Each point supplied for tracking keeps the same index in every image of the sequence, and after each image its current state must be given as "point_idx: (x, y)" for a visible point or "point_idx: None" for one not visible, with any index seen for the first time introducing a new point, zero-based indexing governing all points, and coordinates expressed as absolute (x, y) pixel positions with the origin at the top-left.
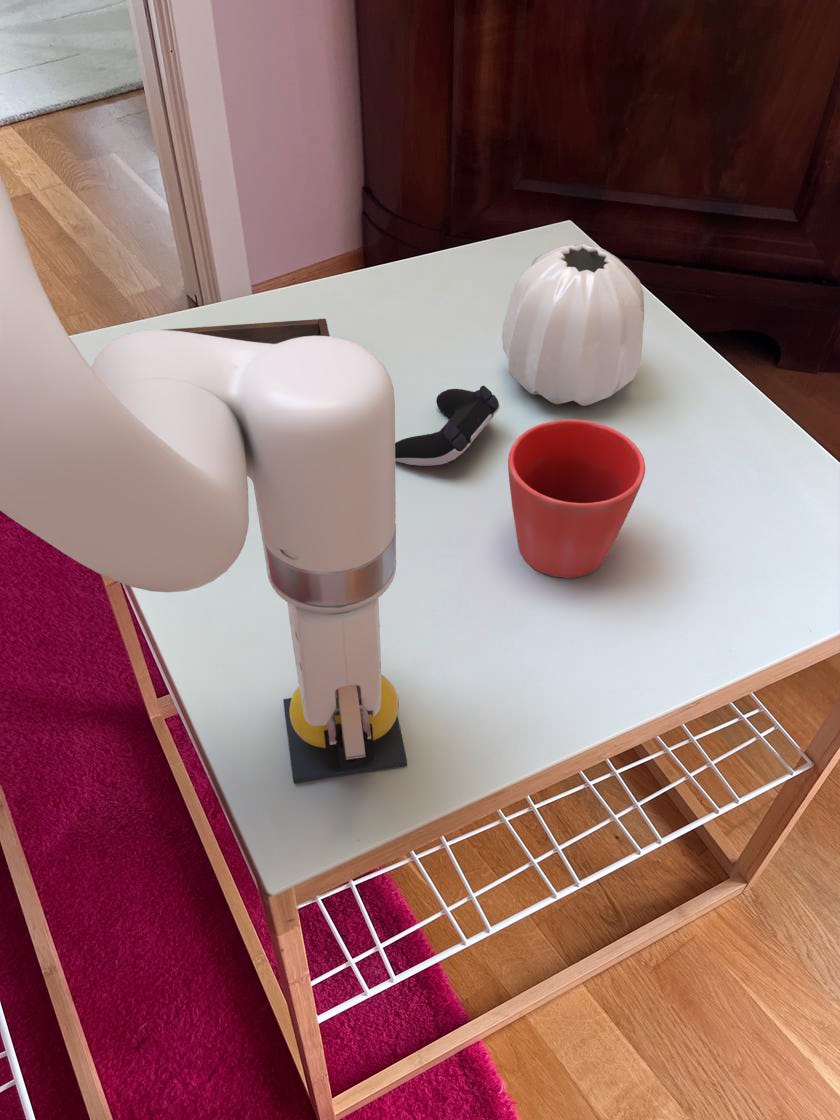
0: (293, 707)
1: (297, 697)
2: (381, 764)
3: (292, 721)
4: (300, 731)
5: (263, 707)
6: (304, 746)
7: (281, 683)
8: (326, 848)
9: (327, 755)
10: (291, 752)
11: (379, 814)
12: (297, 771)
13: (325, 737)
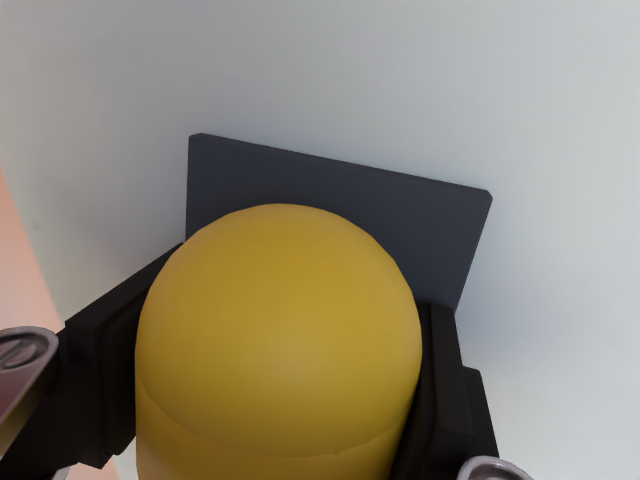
0: (264, 255)
1: (276, 300)
2: None
3: (252, 217)
4: (203, 229)
5: (507, 121)
6: (284, 201)
7: (578, 208)
8: (21, 154)
9: (148, 266)
10: (278, 158)
11: (89, 289)
12: (209, 155)
13: (69, 320)
